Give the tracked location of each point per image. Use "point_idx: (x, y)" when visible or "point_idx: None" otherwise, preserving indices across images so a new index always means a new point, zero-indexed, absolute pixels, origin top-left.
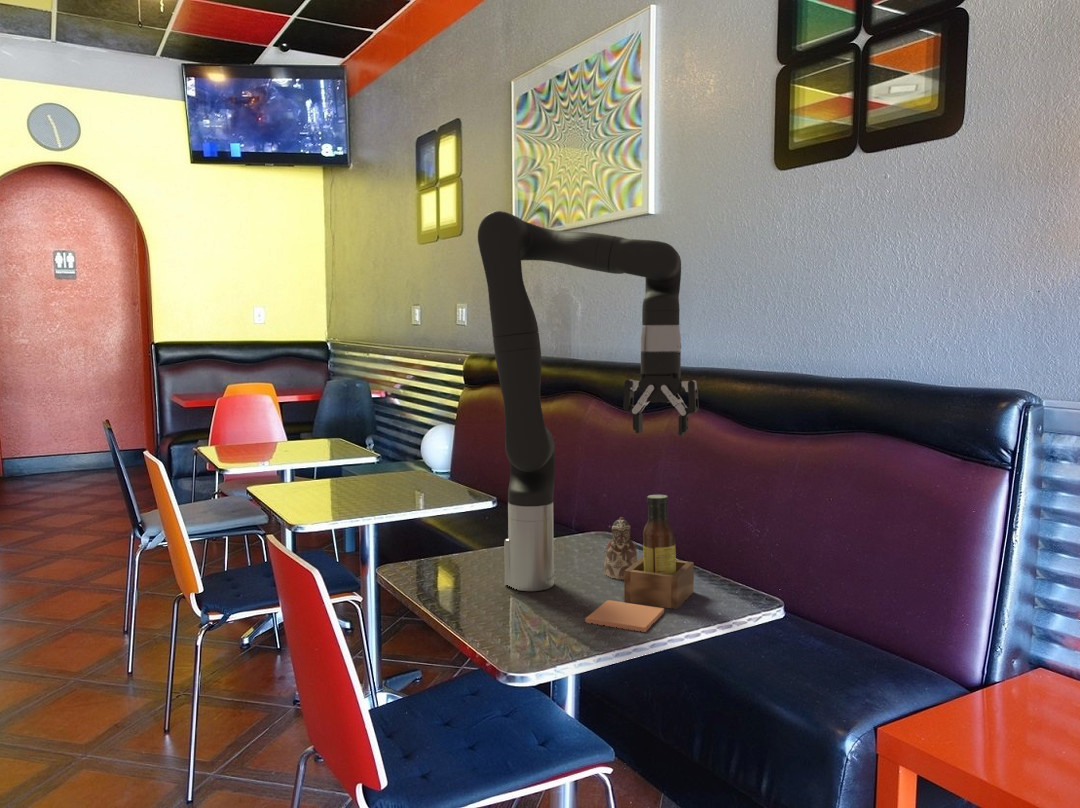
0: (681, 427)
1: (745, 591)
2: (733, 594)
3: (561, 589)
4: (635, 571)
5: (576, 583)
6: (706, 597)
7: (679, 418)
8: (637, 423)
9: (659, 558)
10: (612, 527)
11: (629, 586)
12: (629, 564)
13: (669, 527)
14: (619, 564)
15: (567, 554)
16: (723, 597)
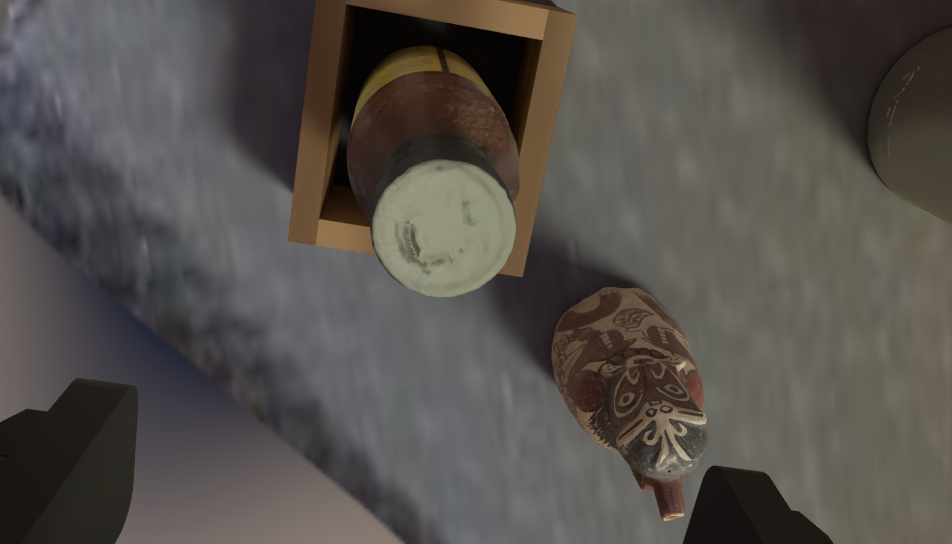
0: (46, 424)
1: (112, 265)
2: (150, 215)
3: (827, 98)
4: (525, 16)
5: (776, 191)
6: (246, 150)
7: (17, 523)
8: (784, 542)
9: (417, 64)
10: (703, 418)
11: (544, 6)
12: (585, 331)
13: (366, 148)
14: (626, 318)
15: (852, 541)
16: (182, 168)
